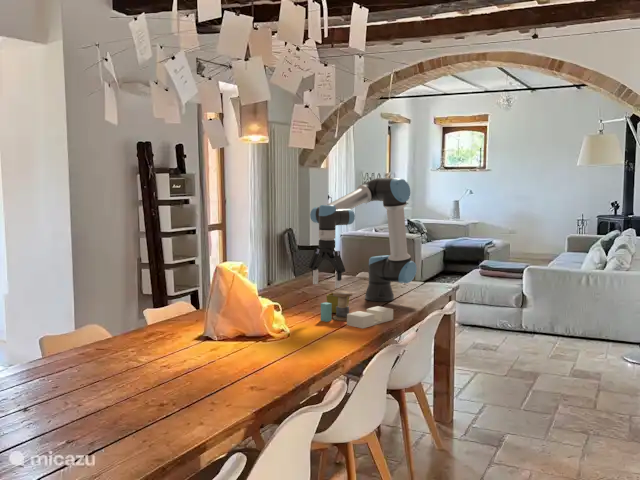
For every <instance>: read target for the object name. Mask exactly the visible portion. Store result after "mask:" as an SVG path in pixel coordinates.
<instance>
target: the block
mask: <svg viewBox="0 0 640 480" xmlns="http://www.w3.org/2000/svg"><path fill="white" fill-rule="evenodd" d="M332 315H333V313H332V303H327V301H326V302H320V322H324V323H325V322H326V323H328V322H331V321H332V319H333V316H332Z"/></svg>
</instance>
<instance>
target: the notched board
mask: <svg viewBox="0 0 640 480" xmlns="http://www.w3.org/2000/svg"><path fill="white" fill-rule="evenodd" d="M393 320H394V309H393V308H390V307H383V306H379V305H377V306H372V307H369V308H366V311H361V310H356V311H353V312H349V314H347V321H346V326H350V327H353V328H354V327H355V328H358V329H366V328H370V327H372V326H376V325H379V324H383V323H387V322H389V321H390V322H391V321H393Z"/></svg>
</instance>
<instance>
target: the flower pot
mask: <svg viewBox="0 0 640 480" xmlns="http://www.w3.org/2000/svg"><path fill="white" fill-rule="evenodd" d="M349 301H350V297H347V306H349V305H350V304H349V303H350V302H349ZM326 302H327V303H332V314H336V306H338V297H336V296H333V292H331V293H328V294H326Z"/></svg>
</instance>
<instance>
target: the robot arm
mask: <svg viewBox="0 0 640 480" xmlns="http://www.w3.org/2000/svg"><path fill="white" fill-rule="evenodd" d="M410 196H411V187H410V184H409V183H408V182H407V181H406V179H404V178H399V177H384V178H383V177H379V178H375V179H371V180H369V181H366V182H364V183H362V184H360V185H358V186H357V188H356V189H355V190H353V191H351V192H349V193H346V195H344V196H341V197H339V198H338V199H335V200H334V201H331V202H330V203H328V204H322V205H321V204H320V205H319V206H317V207H313V208H312V209H311V210H310V213H309V217H310V220H311V222H313V223H316V224H318V248H314V249H313V255H312V257H311V259H310V262H309V264H308V268H309V269H311V270H312V273H311V274H312V275H311V276H312V284H313V285H318V284H319V269H318V268H319V267H320V266H321V264H322V262H323V261H324V260H326V261H329V262H330V263H331V265H332V267H333V268H334V271H335V273H334V277H335V278H334V289H339V288H341V281H342V274H344V273H345V272H346V268H345V266H344V263H343V260H342V257H341V251H340V250H335V248H336V228H337V227H336V226H348V225H352V224H353V223H354V222H355V219H356V215H355V211H353V210H352V209H355V208H356V207H358V206H360V205H362V204H367V203H371V202H375V201H376V202H378V201H379V202H382V205H383V207H384V208H385V209H386V214H387V216H386V217H387V227H388V237H389V238H388V239H389V249H390V250H389V251H390V254H389V255H386V254H385V255H376V256H371V257H369V259H368V285H367V288H366V291H365V298H364V299H365V300H367V301H371V302H391V301H393V300H394V299H395V298H394V297H395V295H394V293H393V288H392V285H391V284H392V282H394V283H400V284H409V283H411V282H412V281H413V280H414V278H415V277H416V274H417V272H418V271H417V269H418V268H417V264H416V262H414V261H413V260H412V257H411V254H409V253H408V243H407V231H406V217H405V209H404V208H405V207H406V205H407V202H408V201H409V199H410Z"/></svg>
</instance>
